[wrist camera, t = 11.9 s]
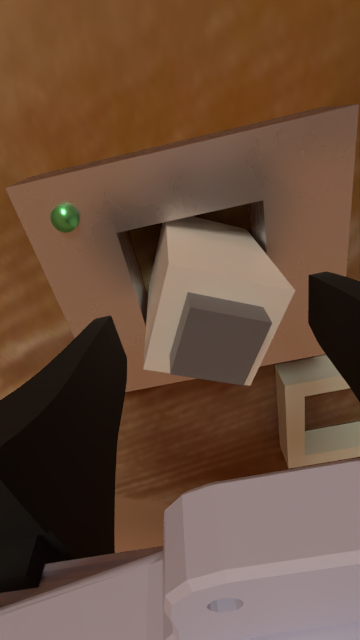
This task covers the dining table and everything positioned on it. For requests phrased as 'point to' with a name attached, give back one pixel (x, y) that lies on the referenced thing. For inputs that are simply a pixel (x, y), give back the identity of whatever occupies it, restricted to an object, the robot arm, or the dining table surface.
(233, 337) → the plug
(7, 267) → the dining table surface
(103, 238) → the port block
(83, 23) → the dining table surface
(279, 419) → the beige square frame
